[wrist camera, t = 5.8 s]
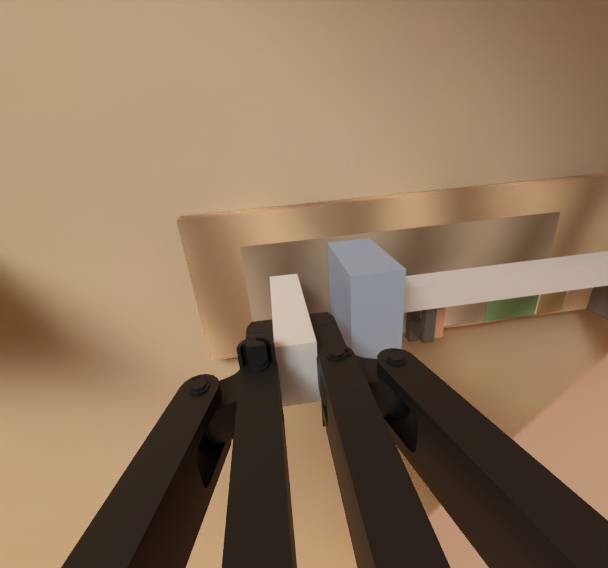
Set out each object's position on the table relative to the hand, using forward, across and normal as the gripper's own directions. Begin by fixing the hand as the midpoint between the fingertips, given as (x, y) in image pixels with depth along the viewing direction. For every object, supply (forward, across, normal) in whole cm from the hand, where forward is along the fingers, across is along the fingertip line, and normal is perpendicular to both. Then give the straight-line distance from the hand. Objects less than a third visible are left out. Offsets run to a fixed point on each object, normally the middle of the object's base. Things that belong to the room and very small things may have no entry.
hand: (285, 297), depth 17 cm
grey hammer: (+1, +12, -1) cm, 12 cm away
